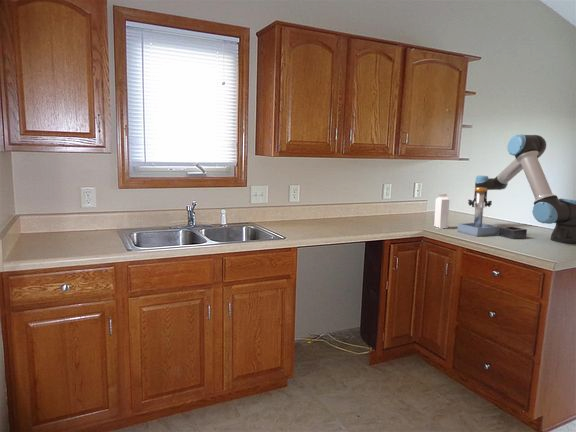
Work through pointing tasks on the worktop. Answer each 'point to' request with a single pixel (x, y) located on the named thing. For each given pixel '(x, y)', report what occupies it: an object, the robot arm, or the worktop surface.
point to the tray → (478, 229)
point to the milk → (441, 211)
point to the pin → (479, 206)
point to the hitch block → (512, 232)
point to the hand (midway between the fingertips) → (479, 205)
